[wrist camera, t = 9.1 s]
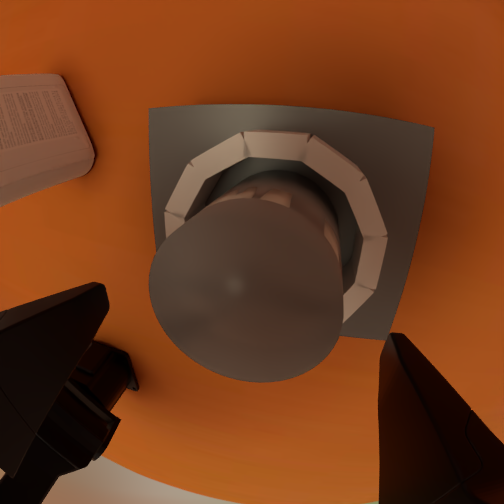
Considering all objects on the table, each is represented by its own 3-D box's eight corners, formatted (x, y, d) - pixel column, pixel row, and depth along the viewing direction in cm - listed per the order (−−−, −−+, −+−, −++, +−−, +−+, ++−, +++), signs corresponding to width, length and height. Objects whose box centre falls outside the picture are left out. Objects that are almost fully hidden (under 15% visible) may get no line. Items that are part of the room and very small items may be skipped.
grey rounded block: (329, 290, 16) (323, 393, 9) (220, 275, 17) (162, 361, 11) (346, 177, 13) (362, 228, 7) (219, 166, 14) (138, 205, 8)
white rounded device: (38, 97, 20) (-72, 117, 9) (62, 66, 18) (-59, 74, 7) (76, 184, 23) (-40, 238, 12) (104, 158, 21) (-29, 206, 10)
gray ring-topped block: (377, 295, 21) (390, 370, 14) (192, 270, 23) (144, 328, 17) (407, 125, 15) (455, 130, 9) (188, 109, 18) (120, 109, 12)
